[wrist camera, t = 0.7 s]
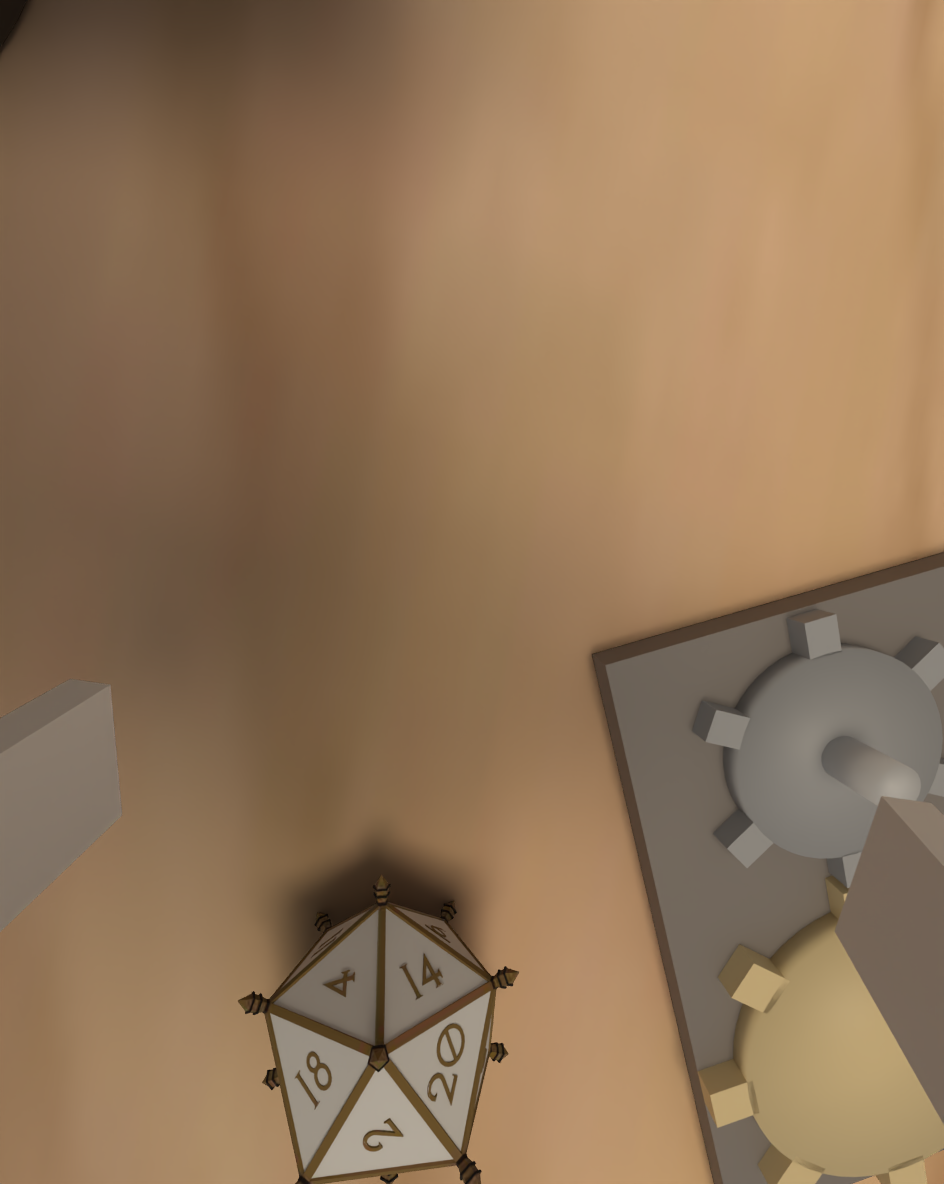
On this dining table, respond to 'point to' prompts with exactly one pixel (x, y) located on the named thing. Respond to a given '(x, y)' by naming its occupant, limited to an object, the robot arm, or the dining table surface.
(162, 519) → the dining table surface
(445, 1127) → the game die
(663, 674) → the gear board
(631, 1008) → the dining table surface
